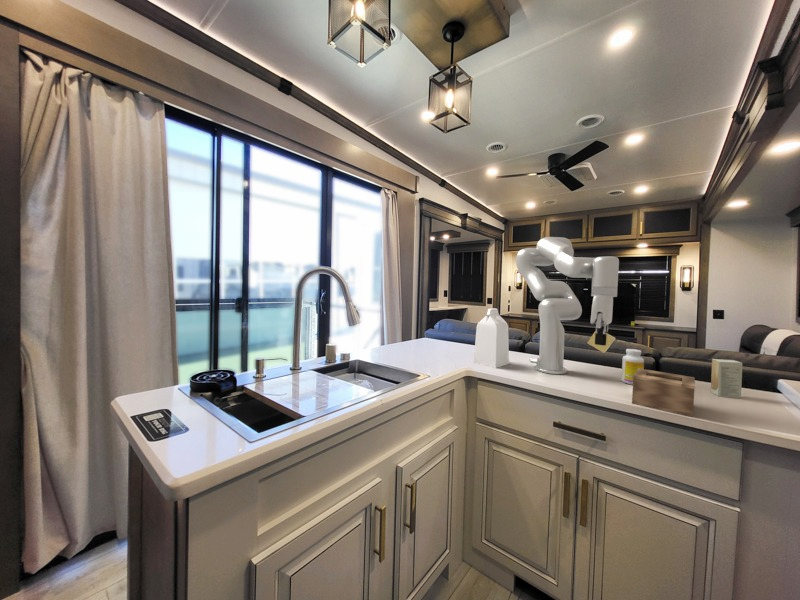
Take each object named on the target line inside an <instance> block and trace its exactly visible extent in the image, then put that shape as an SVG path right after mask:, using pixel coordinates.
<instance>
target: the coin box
mask: <svg viewBox="0 0 800 600" xmlns="http://www.w3.org/2000/svg"><path fill="white" fill-rule="evenodd" d="M695 379H696V378H695V377H694V376H688V375H684V374H683V375H682V374H676V373H671V372H662V371H657V370H652V369H646V368H645V369H639V368H638V370H637V371H636V372H635V374H634V375H633V385H632V396H631V397H632V398H631V404H632V405H636V406H640V407H641V406H642V407H646V408H651V409H655V410H659V411H660V410H661V411H664V412H669V413H673V414H677V415H681V416H685V417H691V418H693V417H694V405H695V391H696V390H695V388H696V382H695V381H696V380H695Z"/></svg>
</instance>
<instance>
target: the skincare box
mask: <svg viewBox="0 0 800 600" xmlns="http://www.w3.org/2000/svg"><path fill="white" fill-rule="evenodd" d="M710 377H711V378H710V379H711V380H710V393H712V394H714V395H715V396H717V397H723V398H737V399H741V398H742V383H743V382H742V379H743V362H742V361H737V360H736V359H735V360H734V359H722V358H721V359H720V358H719V359H718V358H712V359H711V376H710Z"/></svg>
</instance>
